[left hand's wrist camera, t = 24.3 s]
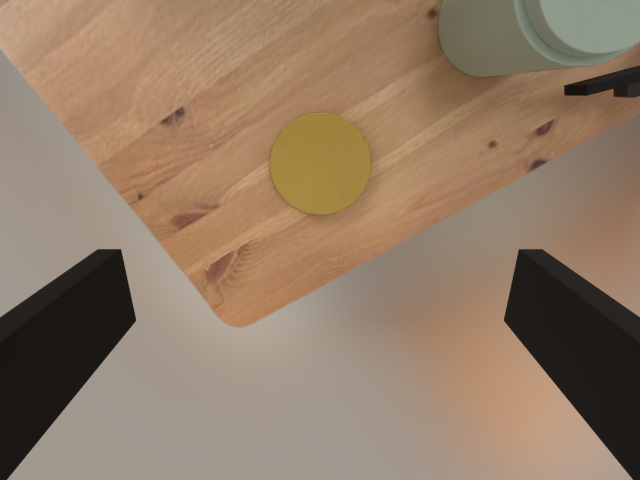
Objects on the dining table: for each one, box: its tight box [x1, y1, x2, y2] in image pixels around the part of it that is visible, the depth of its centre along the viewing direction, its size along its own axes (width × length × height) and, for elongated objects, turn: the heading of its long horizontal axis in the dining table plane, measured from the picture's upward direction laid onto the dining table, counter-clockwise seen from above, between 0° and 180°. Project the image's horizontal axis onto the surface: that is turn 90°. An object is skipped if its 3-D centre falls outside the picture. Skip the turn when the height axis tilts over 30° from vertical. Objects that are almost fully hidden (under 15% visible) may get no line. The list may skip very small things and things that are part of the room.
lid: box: [270, 112, 371, 215], centre depth 36 cm, size 10×10×2 cm
